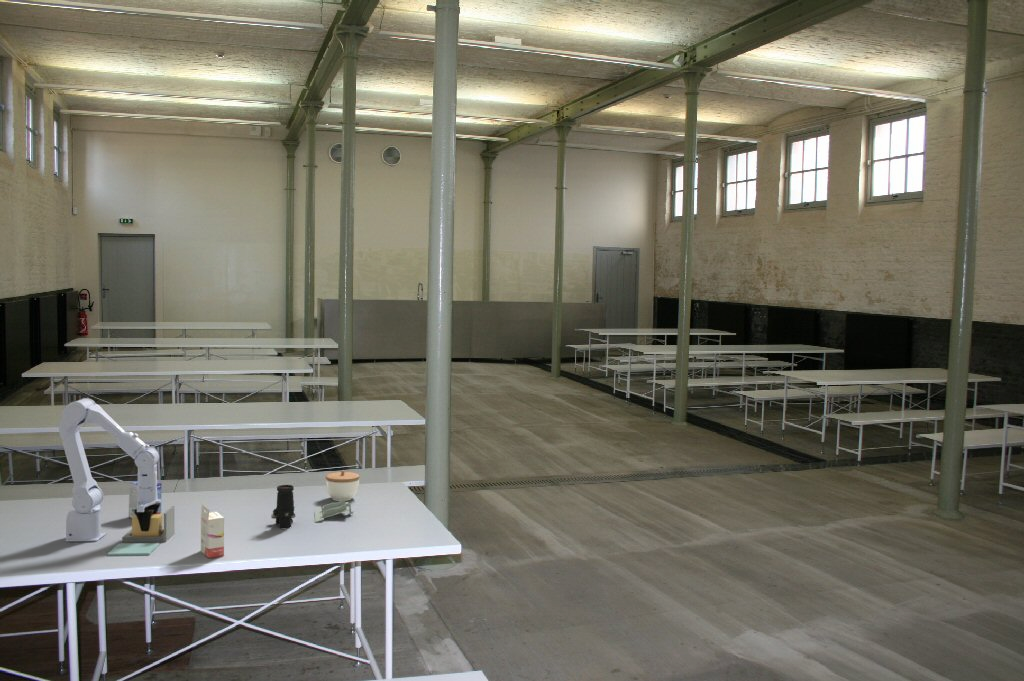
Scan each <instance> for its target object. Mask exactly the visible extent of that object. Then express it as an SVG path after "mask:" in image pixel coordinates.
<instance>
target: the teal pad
mask: <svg viewBox="0 0 1024 681" xmlns="http://www.w3.org/2000/svg"><path fill="white" fill-rule="evenodd" d="M160 544H161V542H152V543H151V542H123V543H118V544H117V545H115V547H113V548H112V549H111V550H110V551H109V552H108V553H107V557H108V556H110V555H112V556H115V557H117V555H118V556H150V555H151V554H152V553H153V552H154V551H155V550H156V549H157V548H158V547H159V546H160ZM110 557H111V556H110Z"/></svg>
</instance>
